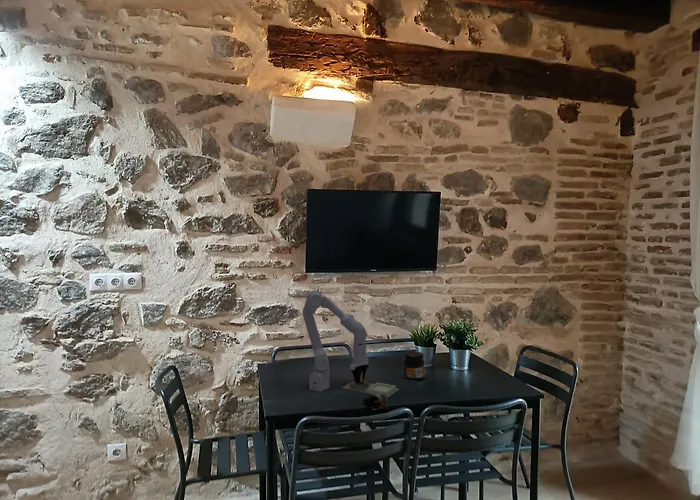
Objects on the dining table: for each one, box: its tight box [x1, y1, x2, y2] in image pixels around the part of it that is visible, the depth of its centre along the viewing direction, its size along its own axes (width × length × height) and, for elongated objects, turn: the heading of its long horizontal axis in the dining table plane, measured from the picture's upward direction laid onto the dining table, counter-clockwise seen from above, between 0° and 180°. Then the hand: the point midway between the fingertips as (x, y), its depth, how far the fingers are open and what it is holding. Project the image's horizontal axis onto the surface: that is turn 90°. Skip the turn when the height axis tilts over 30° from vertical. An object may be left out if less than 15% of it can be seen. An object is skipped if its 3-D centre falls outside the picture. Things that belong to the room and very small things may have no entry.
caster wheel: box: [362, 393, 388, 411], centre depth 207 cm, size 7×11×10 cm
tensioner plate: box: [341, 380, 400, 398], centre depth 227 cm, size 12×23×1 cm, turn 60°
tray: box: [367, 382, 397, 396], centre depth 225 cm, size 10×9×1 cm
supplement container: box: [402, 350, 425, 382], centre depth 244 cm, size 10×10×12 cm
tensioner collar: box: [348, 380, 370, 389], centre depth 231 cm, size 7×7×1 cm
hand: (359, 381), depth 231 cm, fingers closed on lock pin, 3 cm apart
